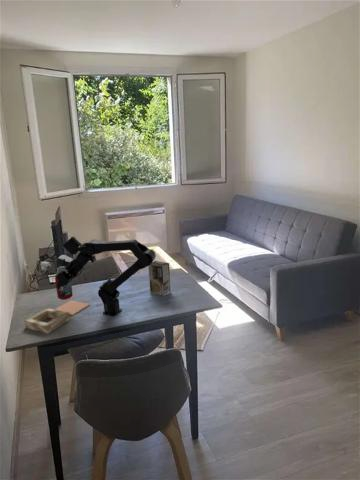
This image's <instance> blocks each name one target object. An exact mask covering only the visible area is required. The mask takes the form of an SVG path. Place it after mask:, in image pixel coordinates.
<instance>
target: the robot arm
mask: <svg viewBox="0 0 360 480" xmlns="http://www.w3.org/2000/svg"><path fill="white" fill-rule="evenodd" d="M62 248H63V249H64V250H65V251H66V252H68V254H69V255H70V256H75V258H72V257H70V256H68V255H66V254H61V255H60V256H58V258H57V259H56V262H57V263H56V264H57V265H59V266H61V267H64V269H65V270H66V271H65V270H61V271H60V273H59V272H57V273H58V274H57V273H56V274H57V275H56V274H55V277H56V278H57V279H58V280H59V282H58V284H57V286H56V285H55V288H56V287H57V288H60V287H62V286H65V285H66V286H67V285H68V284H69V283H70V282H71V283H72V281H73V279H74V278H76V277H78V276H80V274H83V272H84V271H85V270H86V265H88V263H89V262H91V263H94V262H96V261H97V259H96V255H99V254H101V253H106V252H117V251H118V252H119V251H130V252H132V254H133V255H134V256H135V257H136V260H135V262H133V263H132V264H131V265H129V267H127V268H126V269H125V270H124V271H122V272H121V273H120V274H119V275H117V277H115V278H114V279H111V277H109V278H108V279H107V280H106V281H105V282H103V283H102V284H101V285H100V286H99V289H98V291H97V294H98V297H99V298H100V299H101V301H102V304H103V312H102V314H103V315H106V316H112V317H114V316H116V315H118V314H119V313H120V312H122V310H123V309H122V308H120V300H119V299H118V298H119V297H120V291H119V290H118V288H119V287H120V286H121V285H123V283H125V282H126V281H127V280H128V279H130V278H131V277H132V276H134V275H135V274H136V273H137V272H139V271H140V270H143V269H145V268H146V267H148V266H149V265H151V263H152V262H154V261H155V259H156V252H155V251H154V250H153V249H150V248H149V247H147V246H146V245H144V244H143V243H141V242H139V241H138V240H137V239H130V240H113V241H112V240H111V241H106V240H103V239H91V240H90V241H88V242H84V243H81V242H80V241H79V240H78V239H77V238H76V237H75V236H71V237H70V238H69V239H68V240H67V241H66V242H64V244H63V245H62ZM66 272H68V274H67V273H66Z"/></svg>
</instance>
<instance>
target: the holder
mask: <svg viewBox="0 0 360 480" xmlns="http://www.w3.org/2000/svg"><path fill="white" fill-rule="evenodd" d="M48 318H49V319H51V320H50V321H48V322H45V320H46V319H48ZM70 319H71V318H70V315H69V313H68V312H63V311H59V310H54V309H53V308H50V307H47V308H44V309H43V310H41V311H38V313H36V314H35V313H34V314H33V315H32V316H29V317H28V318H26V319H24V325H25V328H26V329H29V330H33V331H36V332H41V333H44V334H47V335H48V334H50V333H51V332H53V331H54V330H56V329H58V328H59V327H61V326H62V325H64V324H65V323H67V322H69V321H70Z"/></svg>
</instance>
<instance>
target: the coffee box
mask: <svg viewBox="0 0 360 480" xmlns="http://www.w3.org/2000/svg"><path fill="white" fill-rule="evenodd" d="M147 267H148V276H149V279H148V280H149V293H150V294H151V293H155V294H154V295H156V294H160V295H159V296H161V295H165V294H167V293H168V292H170V291H171V278H170V277H171V275H170V273H171V272H170V263H169V262H166V261H165V262H164V261H157V260H154V261H153V262H152V263H151V265H149V266H147ZM170 293H171V292H170ZM167 295H168V294H167Z"/></svg>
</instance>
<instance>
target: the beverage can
mask: <svg viewBox="0 0 360 480" xmlns="http://www.w3.org/2000/svg"><path fill="white" fill-rule="evenodd" d="M60 272H61V271H60ZM60 272H57V273H56V274H55V277H54V281H55V282H54V283H55V288H56V295H57V299H59V300H61V301H62V300H63V301H65V300H69V299H71V298H72V297H73V287H72V281H71V282H70V283H69V284H68V285H67V286H66V285H65V286H62V287H60V288H57V287H56V286H57V284H58V282H59V280H58V279H57V278H56V275H57V274H58V273H60ZM65 272H66V273H67V274H68V272H67V271H65Z"/></svg>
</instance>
